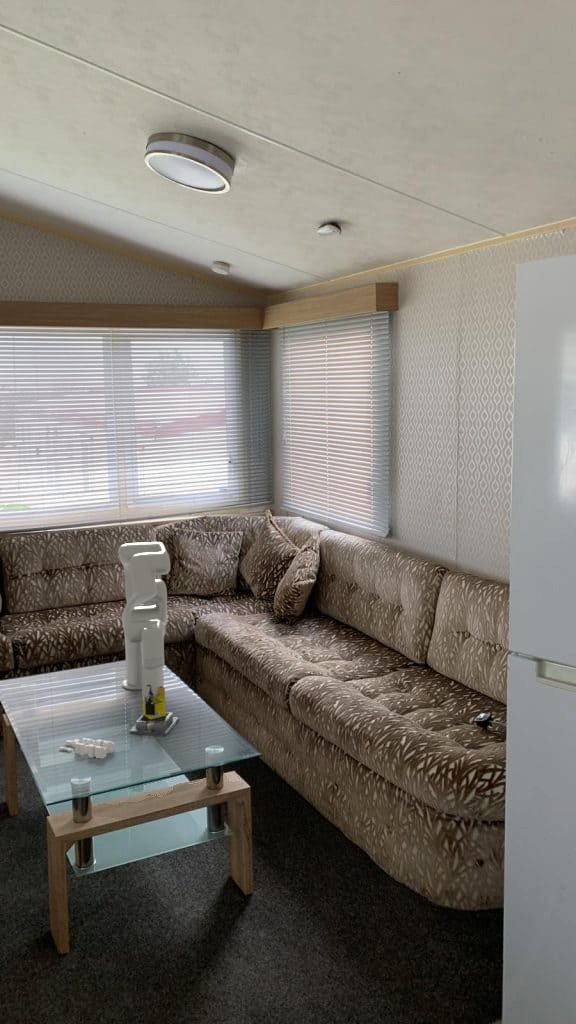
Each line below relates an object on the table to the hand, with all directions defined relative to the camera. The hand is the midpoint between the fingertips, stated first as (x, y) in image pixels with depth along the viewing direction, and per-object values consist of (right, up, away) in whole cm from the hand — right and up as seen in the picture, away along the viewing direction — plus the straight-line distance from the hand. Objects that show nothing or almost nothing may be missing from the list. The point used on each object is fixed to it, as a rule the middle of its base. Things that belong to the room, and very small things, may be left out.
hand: (154, 709), depth 295 cm
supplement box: (0, -3, +1) cm, 3 cm away
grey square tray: (0, -6, +1) cm, 6 cm away
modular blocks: (-19, -10, -18) cm, 28 cm away
